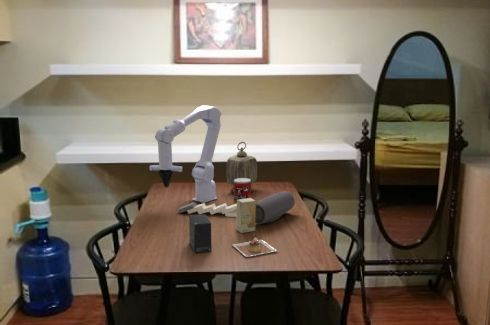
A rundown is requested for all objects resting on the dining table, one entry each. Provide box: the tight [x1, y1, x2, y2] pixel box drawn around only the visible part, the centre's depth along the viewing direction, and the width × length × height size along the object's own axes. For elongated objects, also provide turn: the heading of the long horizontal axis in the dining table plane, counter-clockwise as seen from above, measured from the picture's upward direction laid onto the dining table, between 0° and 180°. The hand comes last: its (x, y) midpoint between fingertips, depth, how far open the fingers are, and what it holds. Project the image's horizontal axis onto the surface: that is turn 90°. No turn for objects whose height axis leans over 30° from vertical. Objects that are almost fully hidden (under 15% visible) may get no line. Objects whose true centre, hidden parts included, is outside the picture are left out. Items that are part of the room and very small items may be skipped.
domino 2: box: [186, 202, 207, 215], centre depth 207 cm, size 2×4×7 cm
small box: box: [188, 213, 213, 254], centre depth 168 cm, size 11×6×10 cm, turn 17°
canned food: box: [233, 178, 252, 204], centre depth 219 cm, size 8×8×11 cm
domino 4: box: [209, 202, 228, 215], centre depth 205 cm, size 2×4×7 cm
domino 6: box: [224, 210, 237, 218], centre depth 203 cm, size 2×4×7 cm
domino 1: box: [177, 201, 197, 214], centre depth 207 cm, size 2×4×7 cm
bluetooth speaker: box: [255, 190, 296, 225], centre depth 197 cm, size 23×9×10 cm, turn 145°
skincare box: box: [236, 197, 257, 234], centre depth 184 cm, size 6×4×12 cm
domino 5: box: [221, 203, 237, 215], centre depth 205 cm, size 2×4×7 cm
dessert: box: [232, 237, 278, 258], centre depth 166 cm, size 12×12×5 cm
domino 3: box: [197, 203, 217, 215], centre depth 206 cm, size 2×4×7 cm
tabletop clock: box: [225, 141, 258, 194], centre depth 238 cm, size 14×9×25 cm, turn 144°
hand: (166, 186), depth 212 cm, fingers closed
